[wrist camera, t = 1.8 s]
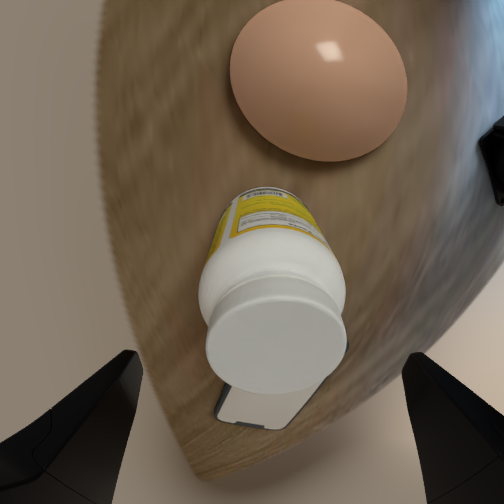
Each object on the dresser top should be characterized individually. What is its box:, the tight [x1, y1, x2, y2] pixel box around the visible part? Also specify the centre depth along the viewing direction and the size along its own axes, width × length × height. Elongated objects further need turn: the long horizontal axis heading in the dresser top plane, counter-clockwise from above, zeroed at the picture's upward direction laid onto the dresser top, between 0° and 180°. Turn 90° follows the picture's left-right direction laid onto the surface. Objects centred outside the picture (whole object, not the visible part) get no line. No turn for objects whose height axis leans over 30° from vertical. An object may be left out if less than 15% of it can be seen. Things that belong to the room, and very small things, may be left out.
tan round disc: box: [230, 0, 408, 162], centre depth 14 cm, size 11×11×1 cm
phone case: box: [214, 340, 349, 430], centre depth 25 cm, size 9×2×16 cm
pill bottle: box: [198, 187, 347, 395], centre depth 14 cm, size 6×6×11 cm
